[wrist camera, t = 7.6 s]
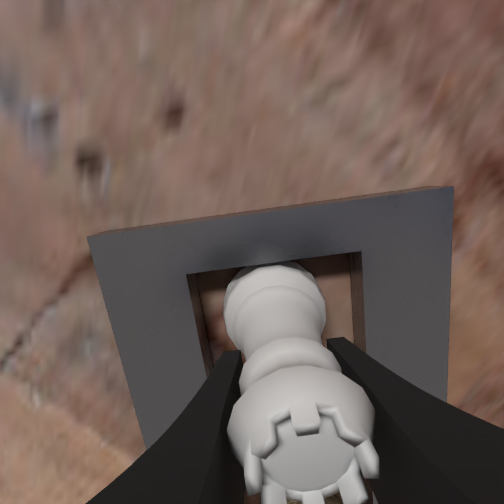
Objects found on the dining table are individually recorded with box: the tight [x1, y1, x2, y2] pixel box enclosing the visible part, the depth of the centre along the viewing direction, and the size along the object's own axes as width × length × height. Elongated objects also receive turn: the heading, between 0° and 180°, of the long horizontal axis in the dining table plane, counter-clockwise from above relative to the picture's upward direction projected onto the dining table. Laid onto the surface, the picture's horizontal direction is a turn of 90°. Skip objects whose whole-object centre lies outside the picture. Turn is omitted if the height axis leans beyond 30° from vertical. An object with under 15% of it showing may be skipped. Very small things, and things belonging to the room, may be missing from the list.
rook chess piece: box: [223, 261, 380, 504], centre depth 9 cm, size 4×4×8 cm
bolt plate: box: [87, 186, 454, 504], centre depth 12 cm, size 14×20×5 cm
